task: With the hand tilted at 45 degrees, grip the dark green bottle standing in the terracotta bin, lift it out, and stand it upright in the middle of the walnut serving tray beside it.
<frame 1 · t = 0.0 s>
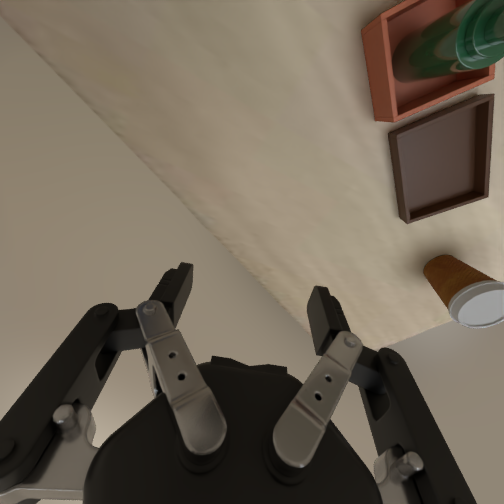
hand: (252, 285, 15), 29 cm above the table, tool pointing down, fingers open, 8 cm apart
bottle: (413, 57, 31), resting on bin
disposable coffee cup: (439, 267, 48), on the table
tray: (433, 164, 38), on the table
bin: (411, 58, 31), on the table
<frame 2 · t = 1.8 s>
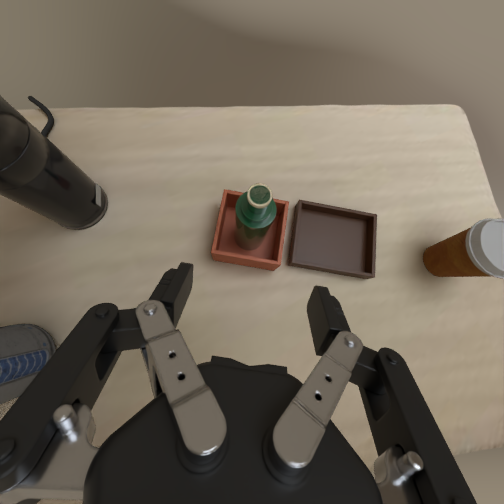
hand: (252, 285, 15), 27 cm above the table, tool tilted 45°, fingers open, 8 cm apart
bottle: (248, 236, 44), resting on bin
beverage bottle: (20, 357, 36), on the table
disposable coffee cup: (436, 261, 47), on the table
tray: (330, 241, 45), on the table
bin: (248, 236, 44), on the table
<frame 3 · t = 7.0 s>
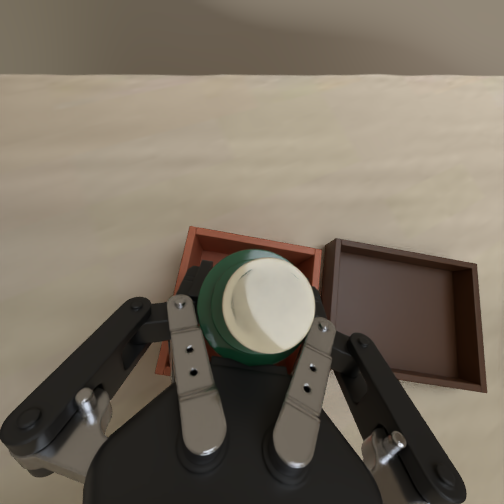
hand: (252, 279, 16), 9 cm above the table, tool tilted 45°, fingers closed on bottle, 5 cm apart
bottle: (242, 306, 23), resting on bin, touching gripper
tray: (389, 311, 25), on the table
bin: (242, 306, 24), on the table
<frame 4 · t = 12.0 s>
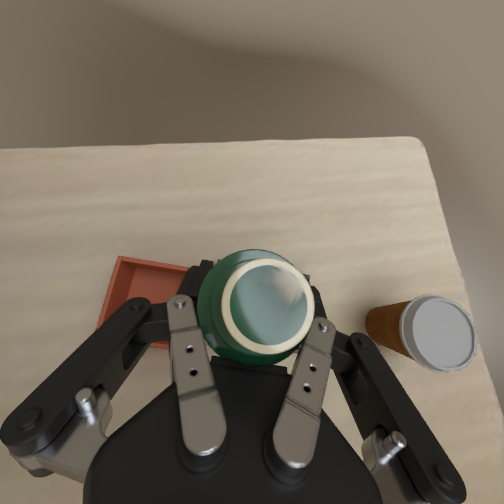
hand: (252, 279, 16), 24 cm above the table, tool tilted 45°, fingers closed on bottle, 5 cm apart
bottle: (242, 306, 23), point 16 cm above the table, touching gripper
disposable coffee cup: (382, 325, 40), on the table
bin: (159, 302, 38), on the table
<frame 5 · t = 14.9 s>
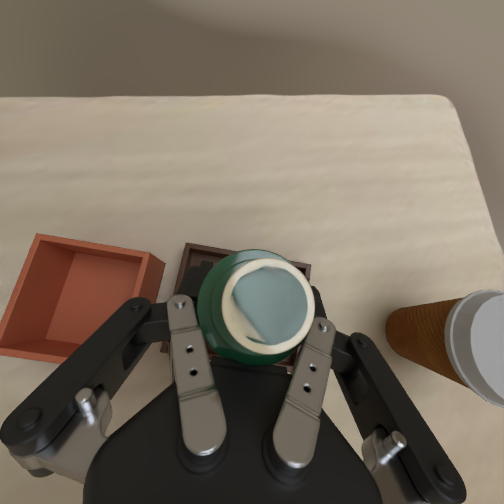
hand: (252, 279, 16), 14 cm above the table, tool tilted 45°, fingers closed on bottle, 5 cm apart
bottle: (242, 306, 23), point 6 cm above the table, touching gripper
disposable coffee cup: (407, 332, 30), on the table
tray: (239, 305, 29), on the table
bin: (106, 300, 28), on the table
when the fingers open (9 cm above the table, at t = 16.9 s): bottle stays where it is, resting on tray.
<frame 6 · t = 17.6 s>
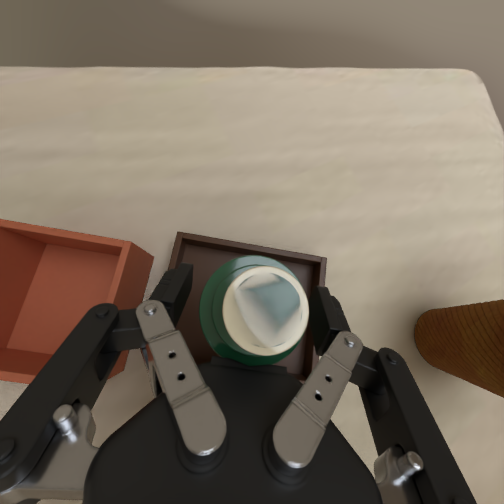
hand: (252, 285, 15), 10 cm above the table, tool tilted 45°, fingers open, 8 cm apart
bottle: (242, 308, 24), resting on tray
disposable coffee cup: (439, 338, 26), on the table
tray: (242, 306, 24), on the table
bin: (83, 301, 23), on the table
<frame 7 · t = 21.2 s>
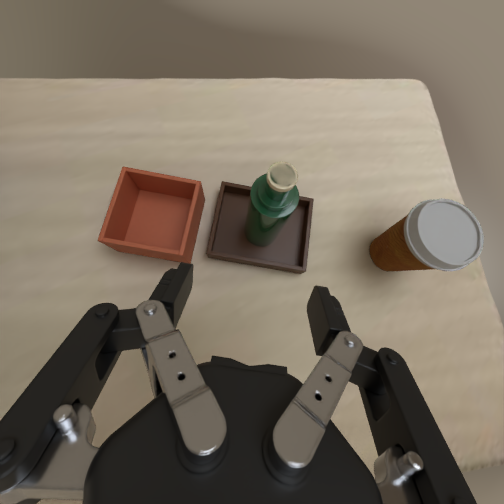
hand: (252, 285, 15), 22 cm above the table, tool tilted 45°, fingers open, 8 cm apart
bottle: (261, 230, 38), resting on tray
disposable coffee cup: (386, 253, 40), on the table
tray: (260, 230, 39), on the table
bin: (163, 224, 38), on the table
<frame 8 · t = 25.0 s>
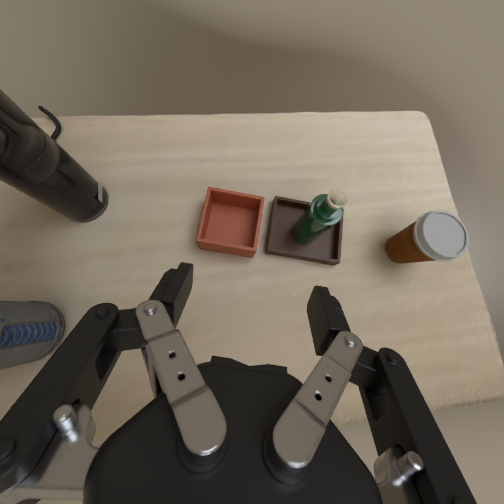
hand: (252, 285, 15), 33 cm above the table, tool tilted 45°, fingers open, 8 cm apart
bottle: (303, 232, 51), resting on tray
beverage bottle: (34, 330, 43), on the table
disposable coffee cup: (397, 250, 53), on the table
tray: (303, 232, 52), on the table
bin: (231, 228, 50), on the table
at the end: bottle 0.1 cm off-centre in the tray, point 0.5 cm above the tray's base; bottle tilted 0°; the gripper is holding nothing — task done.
